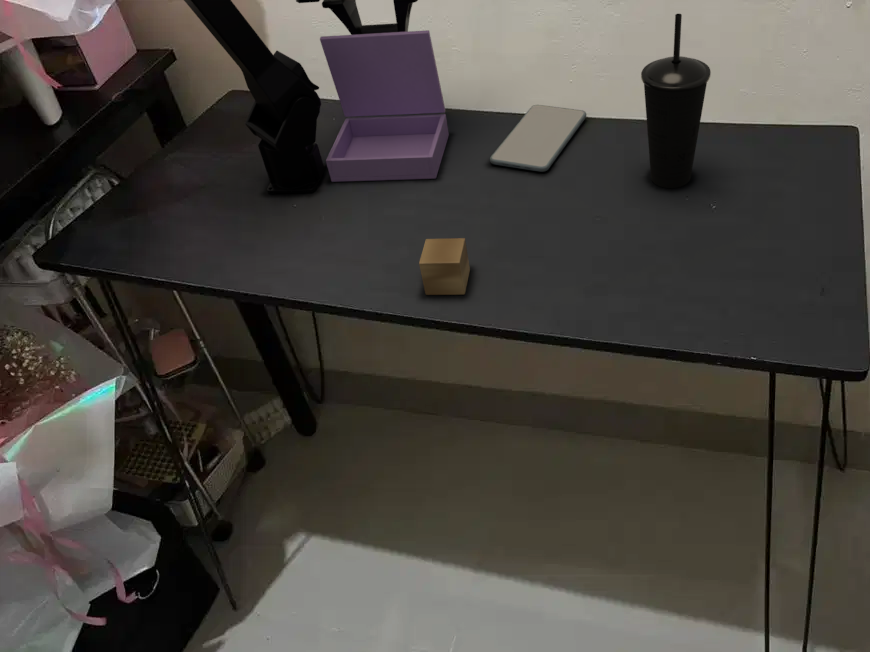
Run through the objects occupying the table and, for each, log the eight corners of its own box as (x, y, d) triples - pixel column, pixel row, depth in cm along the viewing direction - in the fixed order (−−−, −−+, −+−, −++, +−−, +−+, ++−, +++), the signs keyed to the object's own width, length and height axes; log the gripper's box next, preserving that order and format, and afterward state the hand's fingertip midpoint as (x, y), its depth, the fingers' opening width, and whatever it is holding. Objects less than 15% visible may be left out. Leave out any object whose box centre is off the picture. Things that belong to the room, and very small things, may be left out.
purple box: (436, 178, 109) (432, 156, 106) (331, 181, 111) (325, 160, 108) (449, 134, 116) (445, 113, 114) (351, 138, 118) (345, 117, 116)
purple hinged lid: (428, 32, 104) (433, 12, 107) (319, 39, 106) (326, 19, 109) (445, 112, 114) (449, 92, 116) (344, 117, 116) (350, 97, 118)
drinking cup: (632, 190, 102) (633, 27, 88) (648, 158, 107) (652, -2, 93) (694, 198, 100) (706, 32, 85) (708, 164, 104) (721, 2, 90)
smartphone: (487, 159, 109) (533, 103, 118) (488, 165, 110) (533, 109, 119) (546, 168, 106) (588, 110, 115) (546, 175, 107) (588, 116, 116)
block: (425, 295, 92) (418, 263, 89) (432, 270, 95) (425, 238, 92) (464, 294, 91) (459, 262, 88) (470, 269, 94) (465, 237, 91)
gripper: (446, -109, 103) (463, 19, 114) (302, -97, 106) (332, 27, 117) (430, -81, 95) (450, 53, 106) (276, -69, 98) (310, 61, 109)
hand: (384, 47), depth 110 cm, fingers closed on purple hinged lid, 5 cm apart
